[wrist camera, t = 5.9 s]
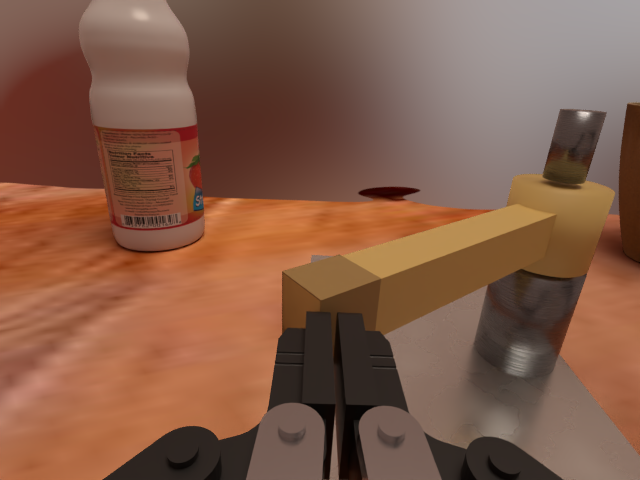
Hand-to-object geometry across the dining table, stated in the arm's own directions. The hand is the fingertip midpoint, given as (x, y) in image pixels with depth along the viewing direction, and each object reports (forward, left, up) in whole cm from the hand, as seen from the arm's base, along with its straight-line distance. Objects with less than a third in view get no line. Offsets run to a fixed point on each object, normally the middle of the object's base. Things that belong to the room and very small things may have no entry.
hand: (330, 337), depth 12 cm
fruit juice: (+19, -30, -10) cm, 36 cm away
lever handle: (-6, -7, -2) cm, 10 cm away
